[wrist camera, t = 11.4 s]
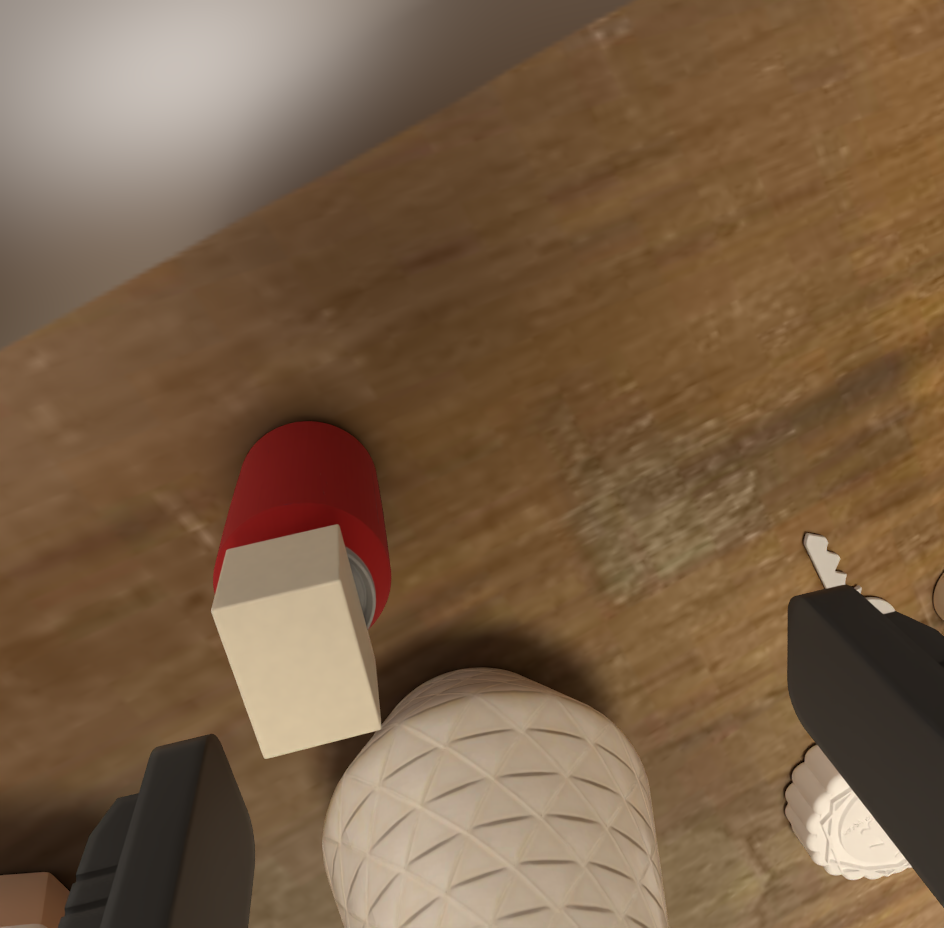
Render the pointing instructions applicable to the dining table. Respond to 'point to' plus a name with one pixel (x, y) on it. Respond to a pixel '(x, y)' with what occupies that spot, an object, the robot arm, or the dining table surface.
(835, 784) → the mooncake
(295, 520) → the beverage can
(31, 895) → the bowl
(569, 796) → the vase
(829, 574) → the key
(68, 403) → the dining table surface
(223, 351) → the dining table surface
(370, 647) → the tea packet
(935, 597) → the candle
